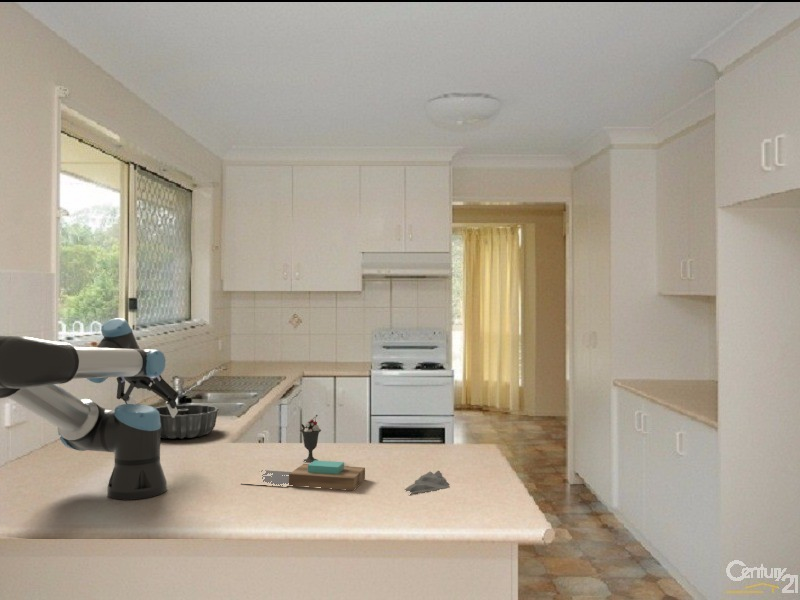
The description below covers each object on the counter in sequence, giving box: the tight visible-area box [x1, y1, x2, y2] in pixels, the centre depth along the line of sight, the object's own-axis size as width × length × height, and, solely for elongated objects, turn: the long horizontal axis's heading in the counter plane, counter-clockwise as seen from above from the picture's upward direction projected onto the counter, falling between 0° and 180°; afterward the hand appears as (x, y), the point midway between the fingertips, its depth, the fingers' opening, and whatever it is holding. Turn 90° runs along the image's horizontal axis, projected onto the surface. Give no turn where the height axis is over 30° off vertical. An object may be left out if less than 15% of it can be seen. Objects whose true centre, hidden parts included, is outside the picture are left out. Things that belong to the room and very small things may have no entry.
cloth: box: [404, 470, 451, 496], centre depth 196 cm, size 26×14×2 cm, turn 146°
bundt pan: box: [155, 404, 219, 440], centre depth 259 cm, size 26×26×10 cm
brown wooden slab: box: [289, 463, 366, 491], centre depth 196 cm, size 12×19×4 cm, turn 78°
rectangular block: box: [308, 459, 345, 474], centre depth 196 cm, size 6×9×2 cm, turn 78°
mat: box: [260, 469, 292, 486], centre depth 199 cm, size 15×14×1 cm
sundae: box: [299, 414, 322, 463], centre depth 221 cm, size 7×7×15 cm
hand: (155, 413), depth 217 cm, fingers open, 13 cm apart
